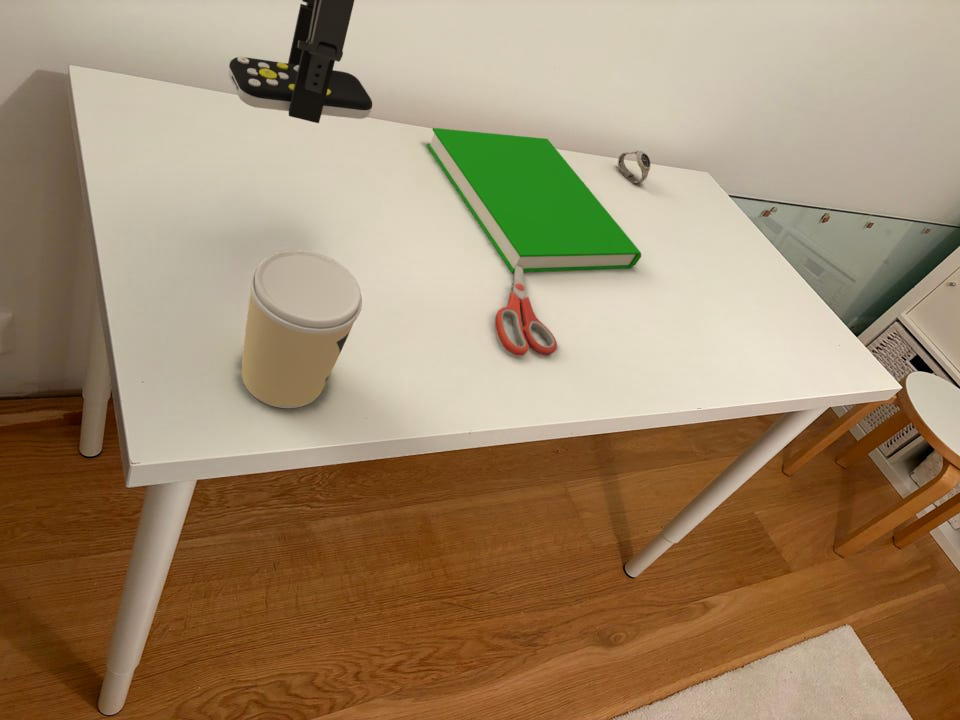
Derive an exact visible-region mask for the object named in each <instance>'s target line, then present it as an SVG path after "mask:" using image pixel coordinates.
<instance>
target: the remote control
mask: <svg viewBox="0 0 960 720" xmlns="http://www.w3.org/2000/svg"><path fill="white" fill-rule="evenodd" d="M298 68H299V65H294V64H288V62H281V61H273V60H268V59H267V60H266V59H260V58H254V57H248V56H247V57H246V56H237V57H234V58H232V59H231V60H230V62H229V65H228V70H227V73H228V77H229V80H230V82H231V84H232V86H233V88H234V90H235V92H236V95H237V96H238V98H239V99H240V100H241V102H243V103H244V104H245V105H247V106H250V107H252V108H255V109H256V108H257V109H265V110H276V111H285V112H289V108H290V103H291V99H292V94H293V90H294V85H295V81H296V77H297V72H298ZM372 109H373V101H372V98H371V97H370V95H369V93H368V92H367V90H366V89H365V87H364V86H363V84H362V83H361V81H360V79H358V78H357V77H356V76H355V75H353V74H352V73H349V72H346V71H343V70H335V69H333V71H332V75H331V78H330V82H329V86H328V90H327V94H326V98H325V102H324V106H323V109H322V113H321V116H330V117H338V118H347V119H357V120H362V119H367V117H369V116H370V114H371V112H372Z"/></svg>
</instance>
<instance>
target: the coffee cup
mask: <svg viewBox="0 0 960 720" xmlns="http://www.w3.org/2000/svg"><path fill="white" fill-rule="evenodd" d="M249 284H250V285H249V289H250V294H249V295H250V296H249V300H248V301H249V302H248V309H247V316H246V325H245V333H244V342H243V350H242V359H241V379H242V382H243V384H244V386H245V388H246V389H247V391H248V392H249V394H251V395H252V396H253V397H254V398H255V399H257V400H258V401H260V402H262V403H263V404H265V405H268V406H271V407H275V408H279V409H296V408H302V407H305V406H307V405H309V404H311V403H312V402H314V401H315V400H317V398H319V396H320V395H321V393H322V392H323V391H324V388H325V386H326V385H327V382H328V380H329V378H330V376H331V375H332V374H331V373H332V372H333V370H334V367H335V365H336V363H337V361H338V359H339V357H340V355H341V352H342V350H343V348H344V346H345V343H346V341H347V339H348V337H349V336H350V333H351V331H352V328H353V326H354V323H355V322H356V320H357V319H358V317H359V316H360V313H361V310H362V306H363V297H362V296H363V295H362V292H361V288H360V286H359V283H358V281H357V279H356V278H355V276H354V275H353V273H351V272H350V271H349V270H348V269H347V267H345V266H344V265H342V264H341V263H339V262H338V261H336V260H334V259H333V258H330V257H329V256H326V255H324V254H321V253H317V252H313V251H308V250H301V249H300V250H298V249H292V250H291V249H290V250H283V251H279V252H276V253H273V254H271V255H269V256H267V257H266V258H265V259H264V260H262V261H261V262H260V263H259V264H258V265H257V266H256V267H255V269H254V270H253V272H252V274H251V277H250V282H249Z"/></svg>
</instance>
